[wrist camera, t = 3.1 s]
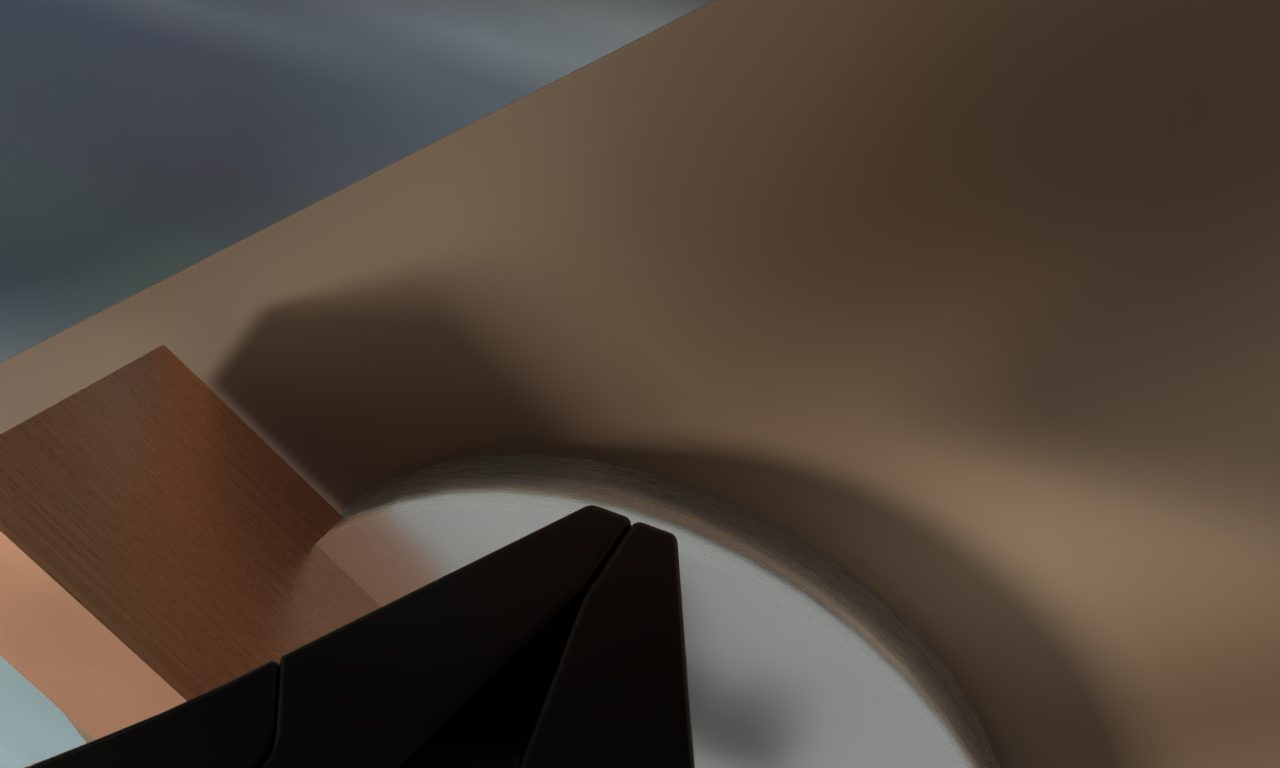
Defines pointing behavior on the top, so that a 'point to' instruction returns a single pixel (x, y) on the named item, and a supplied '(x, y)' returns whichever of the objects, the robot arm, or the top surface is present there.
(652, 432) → the base board
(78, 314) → the top surface
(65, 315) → the top surface
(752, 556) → the flange plate
